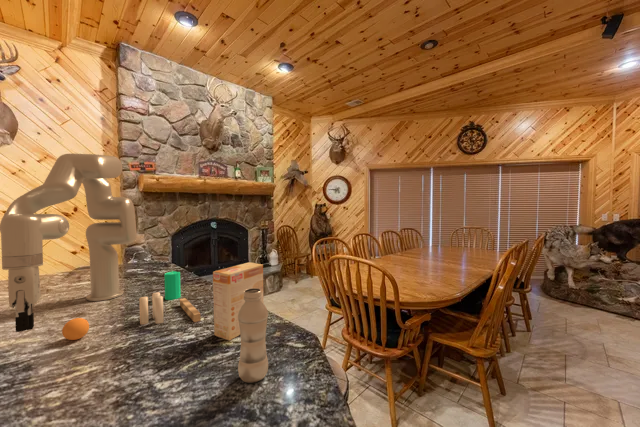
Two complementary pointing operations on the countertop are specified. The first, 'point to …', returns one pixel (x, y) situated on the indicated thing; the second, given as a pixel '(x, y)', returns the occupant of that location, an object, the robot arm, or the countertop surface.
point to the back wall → (190, 310)
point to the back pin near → (159, 310)
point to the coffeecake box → (233, 296)
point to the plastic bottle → (253, 337)
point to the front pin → (143, 310)
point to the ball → (75, 329)
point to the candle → (172, 285)
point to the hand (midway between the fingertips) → (25, 329)
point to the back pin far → (154, 302)
